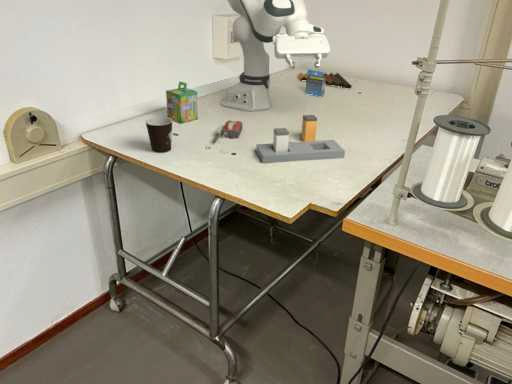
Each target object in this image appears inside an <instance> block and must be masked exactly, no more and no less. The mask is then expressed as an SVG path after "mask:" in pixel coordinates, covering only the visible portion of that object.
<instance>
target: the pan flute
mask: <svg viewBox="0 0 512 384" xmlns="http://www.w3.org/2000/svg"><path fill="white" fill-rule="evenodd" d="M312 74H315V75H318V74H317V73H312ZM297 76H299V77H298V78H300V79H301V80H306V81H307V72H306V73H305V74H304V73H303V72H300V73H298V74H297ZM323 78H325V79H326V81H325V84H328V83H329V84H330V85H337V86H340V87H341V86H342V87H343V86H344V87H345V88H351V89H352V87H353V86H352V85H351V84H350V83H349V82H348V81H347V80H346V79H345V78H344V76H342V75H341V74H339V72H336V73H335V74H334V73H332V72H330V73H329V74H328V73H326V72H324V73H323ZM300 79H299V80H300ZM301 80H300V81H301ZM329 84H328V85H329ZM330 85H329V86H330ZM337 86H336V87H337ZM344 87H343V88H344ZM345 88H344V89H345Z"/></svg>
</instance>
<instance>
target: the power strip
mask: <svg viewBox="0 0 512 384" xmlns="http://www.w3.org/2000/svg"><path fill="white" fill-rule="evenodd" d="M255 148H256V150H255V151H256V153H257V155H258V157H259V158H260V160H261V162H262V164H269V163H270V164H272V163H273V164H274V163H284V162H285V163H286V162H297V161H298V162H301V161H317V160H330V159H331V160H333V159H343V158H345V153H346V150H345V149H344V148H343V147H342V146H341V145H340V144H339V143H338V142H336V140H334V139H325V140H315V141H306V142H303V141H292V142H290V141H288V152H275V153H274V151H273V143H257V144H256V147H255Z"/></svg>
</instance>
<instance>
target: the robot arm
mask: <svg viewBox="0 0 512 384" xmlns="http://www.w3.org/2000/svg"><path fill="white" fill-rule="evenodd" d="M226 1H227V2H228V4H229V6H230V8H231V9H232V11H234V12H235V13H237V14H239V15H240V16H238V17H236V18H235V20H234V21H233V23H232V33H233V36H234V37H235V39H236V40H237V41H238V42H239V44H240V46H241V50H242V55H243V72H241V74H240V75H238V80H239V81H238V82H237V83H235V84H234V85H233V86H232V87H230V88H229V90H227V94H226V98H224V99H223V100H222V102H221V106H222V107H227V108H230V109H231V108H232V109H235V110H242V111H246V112H252V111H253V112H254V111H259V110H260V111H263V110H267V109H269V108H271V107H272V104H271V99H270V85H271V84H270V83H271V78H270V77H271V76H270V55H269V54H268V52H266V49H265V45H264V43H265V44H269V43H272V44H273V45H274V57H275V58H276V59H279V60H281V59H282V60H284V59H285V62H286V63H287V64H288V65H289V69H295V67H296V63H295V62H296V61H293V60H294V59H315V60H316V61H315V62H314V65H313V66H314V68H315V69H319V68H320V67H321V59H326V58H327V57H328V56H329V55H330V53H331V46H330V44H329V40H328V38H327V36H326V35H324V33H325V29H324V28H323V27H320V26H317V25H314V24H311V23H310V22H309V19H308V9H307V5H306V2H305V0H264V2H262V1H261V0H226ZM282 27H284V28H285V32H286V33H281V34H280V31H281V29H282ZM292 59H293V60H292Z"/></svg>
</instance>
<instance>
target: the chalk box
mask: <svg viewBox="0 0 512 384" xmlns="http://www.w3.org/2000/svg"><path fill="white" fill-rule="evenodd" d="M187 85H188V83H187V82H183V81H179V82H178V86H177V88H173V89H168V90H165V96H166V114H167V118H170V119H172V121H175V122H176V123H178V124H184V123H188V122H191V121H195V120H198V119H199V114H198V112H199V110H198V91H196V90H194V89H190V88H188V87H187ZM182 86H183V87H182Z"/></svg>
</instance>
